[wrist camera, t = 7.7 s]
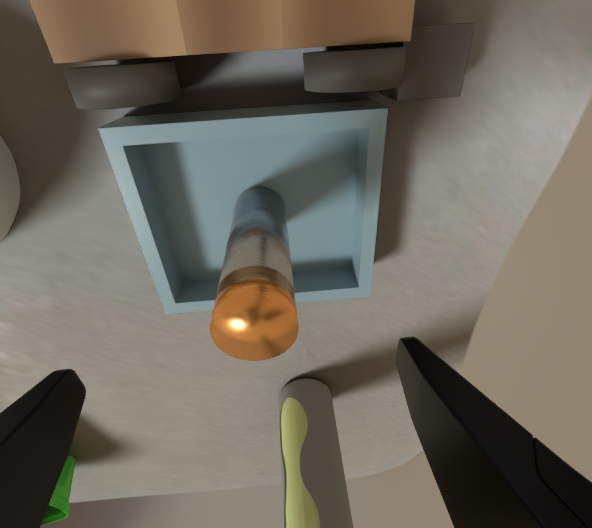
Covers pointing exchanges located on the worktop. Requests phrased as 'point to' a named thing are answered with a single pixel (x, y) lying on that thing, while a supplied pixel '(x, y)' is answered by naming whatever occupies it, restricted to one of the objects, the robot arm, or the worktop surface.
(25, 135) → the worktop surface
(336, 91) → the dolly
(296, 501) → the grey and yellow cylinder
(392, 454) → the worktop surface
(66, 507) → the fruit basket
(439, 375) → the robot arm
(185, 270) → the tray
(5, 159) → the lumpy-topped squat cylinder
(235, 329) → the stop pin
